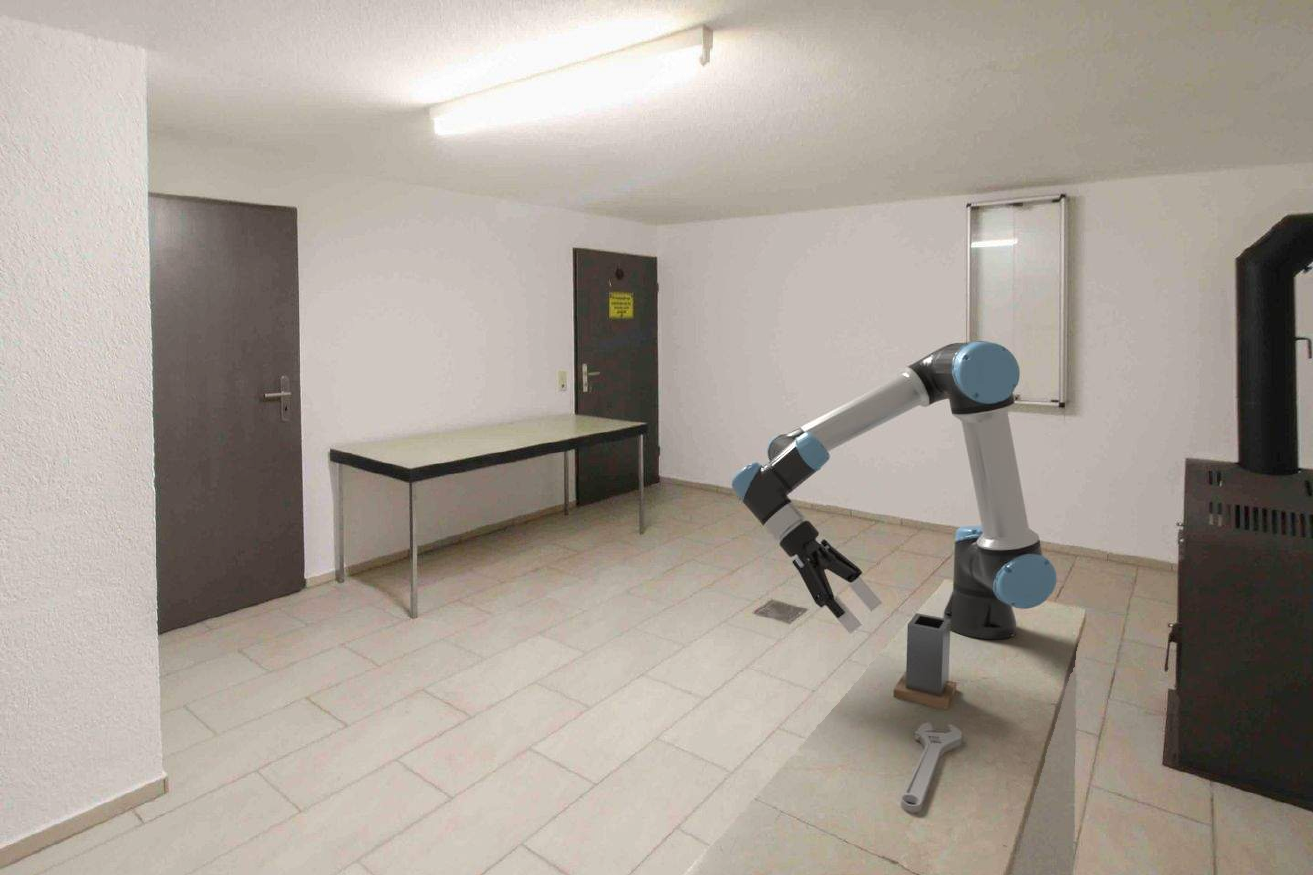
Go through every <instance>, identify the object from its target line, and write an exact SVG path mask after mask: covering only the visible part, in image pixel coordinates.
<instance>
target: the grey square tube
mask: <svg viewBox="0 0 1313 875" xmlns="http://www.w3.org/2000/svg"><path fill="white" fill-rule="evenodd" d="M950 627H951V620H950V619H945V618H943V617H940V616H934V615H930V614H929V615H928V614H922V613H917V612H916V613H915V614H914V616H912V618H911V619H910V621H909V622H908V623H907V632H906V633H907V634H906V637H907V638H906V669H905V671H906V688H907V689H911V690H915V691H919V692H923V693H927V694H931V695H936V696H940V697H941V696H942V694H943V692H944V690H945V688H946V686H947V684H948V681H950V680H949V679H950V653H951V652H950V650H951V649H950V648H951V630H950Z"/></svg>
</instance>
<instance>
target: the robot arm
mask: <svg viewBox="0 0 1313 875" xmlns="http://www.w3.org/2000/svg"><path fill="white" fill-rule="evenodd" d="M1020 375H1021V372H1020V367H1019V363H1018V360H1017V359H1016V357H1015V355H1014V354H1013V353H1012V352H1011V351H1010V350H1009V349H1008V348H1006V347H1005V346H1003V345H1002V344H999V343H996V342H990V341H985V340H984V341H983V340H978V341H977V340H975V341H966V342H954V343H949V344H946V345H944V346H942V347H940V348H938V349H936V350H934V351H933V352H931V353H929V354H927V355H925V356H924V357H923V358H921V359H919V360H917V361H916V362H914V363H912V364H910V365H908V366H905V367H904V368H903V370H902V374H900V375H899V376H897V377H895V378H893V379H891V380H889V381H887V382H885V383H883V384H881V385H879V386H877V387H875V388H874V389H872V390H870V391H868V392H866V393H863V394H862V395H860V396H857V397H856V398H853V399H852V400H850V401H848V402H846V403H844V404H843V405H841V406H839V407H836V408H835V409H833V410H831V411H829V412H827V413H825V414H823V415H821V416H819V417H817V418H815V419H813V420H811V421H809V422H808V423H806V424H804V425H801V426H800V427H798V428H796V429H794V430H792V431H790V432H788V433H785V434H784V433H783V434H778V435H776V436H774V437H773V438H772V439H770V440H769V442H768V444H767V448H766V454H767V457H768V458H767V459H768V460H769V462H766V464H764V465H762V464H760V463H759V462H757V461H753V462H751V463H749V464H748V465H747V466H745V467H743V468H742V469H741V470H740V471H739V472H738V473H737V474H735V476H734V477H733V479H732V480H731V487H732V488H731V489H732V490H733V491H734V492H735V494H736V495H737V496H738V498H739V499H740V500H741V502H742V503H743V504H744V505H745V506H746V507H747V509H749V511H750V512H751V513H752V514H753V516H754V517H755V518H756V519H757V520H758V521H759V523H760V524H762V526H763V527H764V528H765V529H766V530H767V534H768V535H771V537H773V539H774V540H775V541H780V542H779V546H780V547H781V548H782V550H783V551H784V553H786V555H787V556H788V557H789V558H793V557H795V556H797V557H795V558H794V559H793V560H792V561H791V562H792V565H793V566H794V568H796V569H797V572H798V573H799V575H800V576H801V578H802V580H803V582H804V584H805V586H806V588H807V590H808V591H809V593H810V595H811V597H812V599H813V601H814V603H815V604H816V605H817V606H818V607H819V608H824V607H826V608H827V609H828V610H829V611H830V612H831V614H832V615H833V616H834V617H835V618H836V620H837V621H838V622H839V623H840V624H841V625H842V626H843V628H844V629H845V630H846V631H847V632H848V633H849V634H850V635H851V634H852V633H854V632H855V631H856V630H857V629H858V628H859V627H861V626H862V623H861V622H860V621H859V620H858V618H857V617H856V616H855V615H854V614H853V612H852V611H851V610H850V609H849V608H848V607H847V605H846V604H845V603H844V601H842V600H841V598H840V597H839V595H836V596H835V594H834V593H833V589H832V587H831V585H830V582H829V579H828V577H827V574H826V572H825V570H828V571H829V572H831V573H833V574H835V575H836V576H838V577H839V578H841V579H843V580H844V581H846V582H848V583H849V585H848V587H850V589H851V590H852V591H853V593H854V594H856V595H857V597H858V598H859V599H860V600H861V601H862V603H864V605H865V606H866V607H867V608H868V610H869V611H870V612H873V611H874V610H876V608H878V607H879V606H880V605H881V604H883V601H882V600H881V599H880V598H879V597H878V596H877V594H875V593H874V591H873V590H872V589H871V588H870V587H869V585H868V584H867V583H866V582H865V580H863V579H862V578H861V575H863V572H862V570H861V568H859V567H858V566H857V565H856V564H855V563H853V562H852V561H851V560H849V559H848V558H847V557H846V556H844V555H843V553H841V552H839V551H838V550H837V549H836V548H834V546H832V545H831V544H830V543H829V542H828V541H827V540H826V539H824V538H823V539H822V540H821V541H820V542H819V541H817V538H818V537H819V535H820V532H819V531H818V529H817V528H815V526H814V525H813V523H811V521H810V520H805V519H806V515H805V514H804V513H803V512H802V511H801V510H800V509H799V507H798V506H797V505H796V504H795V503H794V502H793V501H792V500H791V499H790V497H789V496H788V495H789V494H791V493H792V492H793V491H794V490H796V489H797V488H798V487H799V486H801V485H802V484H803V483H805V481H807V480H808V479H809V478H811V476H813V475H814V474H815V473H816V472H819V471H820V470H821V468H822V467H823V466H825V464H826V463H828V461H829V460H830V458H831V456H830V453H829V452H830V451H832V450H833V449H836V448H837V447H839V446H841V445H844V444H845V443H847V442H849V441H851V440H853V439H855V438H857V437H859V436H862V435H863V434H865V433H867V432H870V431H872V430H873V429H875V428H877V427H878V426H881V425H883V424H886V423H887V422H888V421H889V422H890V421H891V420H892V419H894V418H896V417H898V416H900V415H902V414H904V413H906V412H909V411H911V410H912V409H915V408H917V407H918V406H921V407H924V408H926V407H929V406H930V405H933V404H934V403H937V402H940V401H943V400H948V402H949V407H950V411H951V415H952V416H953V417H955V418H956V419H957V420H959V421H960V422H961V426H962V430H963V436H964V437H963V438H964V442H965V447H966V452H967V456H968V461H969V468H970V473H971V477H972V482H973V488H974V493H975V499H976V504H977V508H978V510H977V511H978V514H979V519H980V524H981V525H965V526H961V527H959V528H957V530H956V531H955V539H954V541H953V542H954V557H953V581H952V582H953V584H952V591H951V594H950V596H949V597H948V598H949V599H948V601H947V603H946V606H945V608H944V611H943V614H942V618H945V619H950V620H951V627H950V631H952V632H954V633H957V634H959V635H963V636H967V637H970V638H976V639H984V640H1005V639H1009V638H1008V637H1010V638H1012V637H1013V636H1012V635H1014V634H1015V633H1017V626H1018V625H1017V624H1018V623H1017V620H1016V616H1015V612H1014V609H1013V608H1016V609H1020V610H1022V609H1023V610H1025V609H1033V608H1036V607H1038V606H1040V605H1042V604H1043V603H1044V602H1046V601H1047V600H1048V598H1049V597H1050V596H1051V595H1052V594H1053V592H1054V591H1055V588H1056V585H1057V582H1058V581H1057V580H1058V579H1057V570H1056V568H1055V566H1054V565H1053V564H1052V562H1051V561H1050V559H1048V558H1047V557H1045V556H1044V555H1043V551H1042V545H1041V540H1040V536H1039V534H1038V533H1037V532H1035V531H1034V530H1032V529H1031V528H1030V527H1029V523H1028V522H1029V521H1028V518H1027V517H1028V516H1027V511H1026V507H1025V506H1026V505H1025V500H1024V496H1023V488H1022V484H1021V478H1020V473H1019V466H1018V462H1017V457H1016V450H1015V444H1014V440H1013V434H1012V429H1011V422H1010V419H1009V418H1010V417H1009V412H1010V411H1011V409H1012V408H1013V407H1014V406H1015V405H1016V404H1015V403H1016V402H1015V398H1014V392H1015V390H1016V387H1017V386H1018V385H1019V382H1020ZM1015 635H1016V634H1015ZM1015 635H1014V636H1015ZM1011 636H1012V637H1011Z"/></svg>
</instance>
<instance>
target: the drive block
mask: <svg viewBox="0 0 1313 875" xmlns="http://www.w3.org/2000/svg"><path fill="white" fill-rule="evenodd" d="M956 691H957V682H956V681H952V680H949V681H948V684H947V686H946V688H945V690H944V692H943V694H942V696H941V697H940V696H936V695H931V694H927V693H923V692H919V691H915V690H911V689H907V688H906V670H905V671H904V673H903V674H902V675H901V677H900V679H899V680H898V683H897V684H896V685H895V687H894V689H893V697H894V698H897V699H900V700H905V701H909V702H913V703H917V704H921V705H925V706H929V707H934V708H938V709H941V710H946V711H947V710H948V708H949V706H950V703H951V702H952V699H953V698H954V695H955V694H956Z"/></svg>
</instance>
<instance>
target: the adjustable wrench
mask: <svg viewBox="0 0 1313 875" xmlns="http://www.w3.org/2000/svg"><path fill="white" fill-rule="evenodd" d="M962 737H963V733H962V731H961V730H960V729H959V728H958V727H956V726H955V725H952V724H950V723H948V724H947V732H945V733H944V732H934V728H933V726H932V724H931V722H925V723H922V724H921V725H920V726H919V727H918V729H917V730H915V731H914V739H915V741H917V742H920V743H921V744H922V746H923V747H924V748H923V750H922V753H921V755H920V757H919V758H918V761H917V763H916V765H915V766H914V767H915V768H914V769H913V771H912V774H910V775H911V776H909V779H908V781H907V784H906V786H905V787H904V789H903V792H902V794H901V795H900V808H901V809H902V810H904V811H905V812H907V813H913V814H915V813H919V812H921V811H922V807H923V805H924V802H925V799H926V797H927V794H928V791H929V789H930V785H931V783H932V779H933V777H934V774H935V772H936V769H937V766H938V764H939V761H940V758H941V756H942V755H943V754H945V753H946V752H948V751H950V750H953V749H955V748H958V747H959V746H961V745H962V741H963V738H962ZM909 803H910V804H909Z"/></svg>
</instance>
